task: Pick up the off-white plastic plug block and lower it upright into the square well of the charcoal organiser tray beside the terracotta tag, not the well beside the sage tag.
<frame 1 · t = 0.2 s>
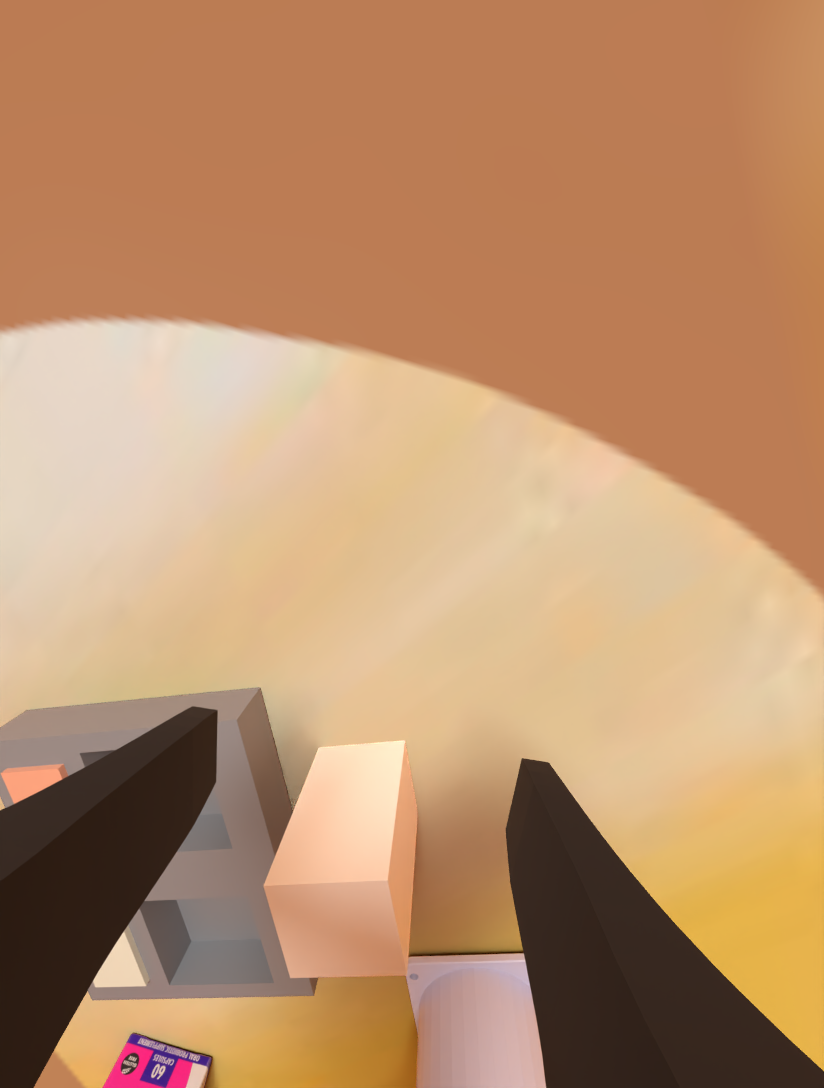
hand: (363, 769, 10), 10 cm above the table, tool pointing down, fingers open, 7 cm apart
organiser tray: (184, 832, 24), on the table
supplement box: (168, 1063, 29), on the table
plug block: (369, 780, 22), on the table
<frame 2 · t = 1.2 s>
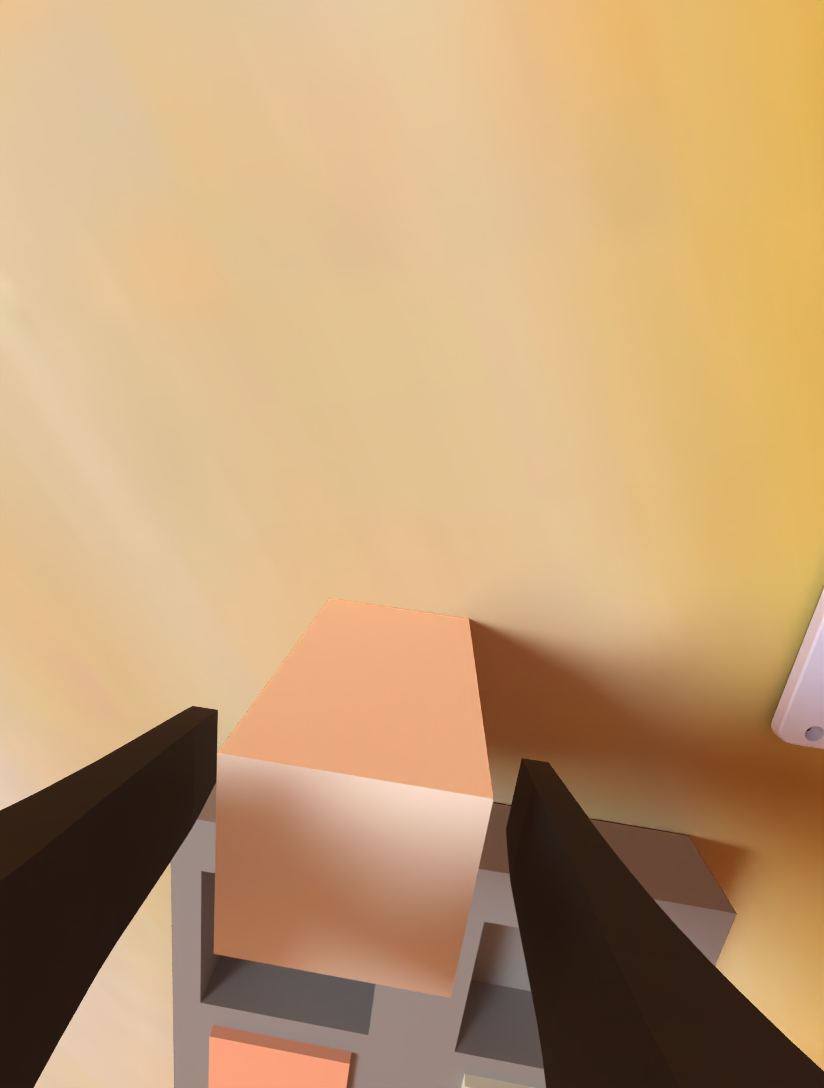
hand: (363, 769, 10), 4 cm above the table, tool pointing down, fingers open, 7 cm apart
organiser tray: (421, 930, 17), on the table
plug block: (390, 670, 14), on the table
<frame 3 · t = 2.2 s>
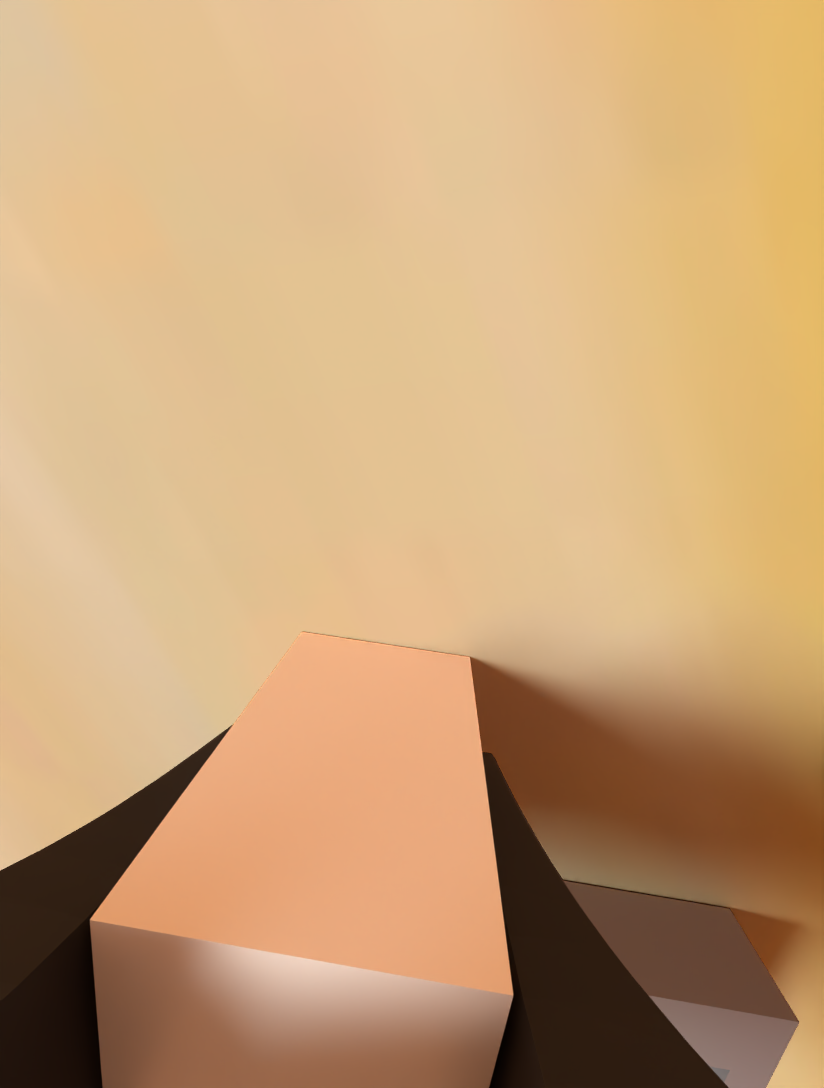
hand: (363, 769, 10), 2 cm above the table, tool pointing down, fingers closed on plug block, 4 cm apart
organiser tray: (414, 1010, 14), on the table
plug block: (375, 717, 12), on the table, touching gripper
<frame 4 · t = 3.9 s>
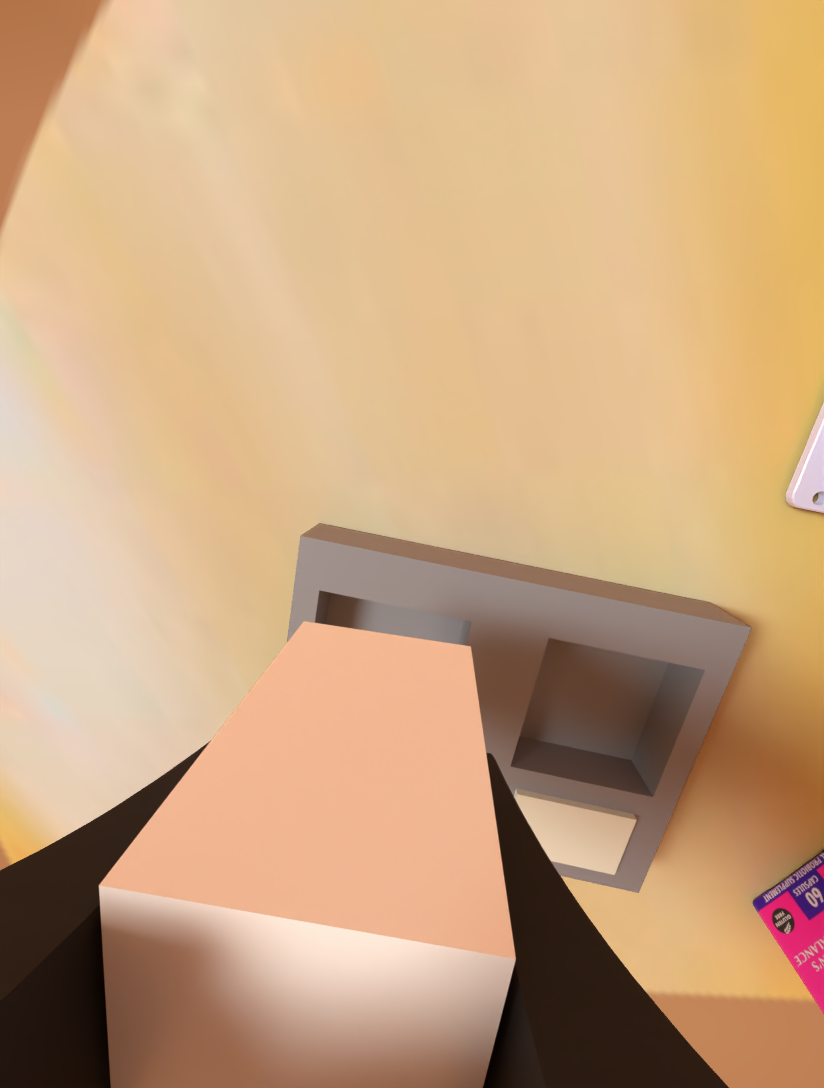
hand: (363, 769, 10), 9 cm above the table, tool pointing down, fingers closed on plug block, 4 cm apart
organiser tray: (478, 693, 20), on the table
plug block: (377, 707, 12), point 7 cm above the table, touching gripper
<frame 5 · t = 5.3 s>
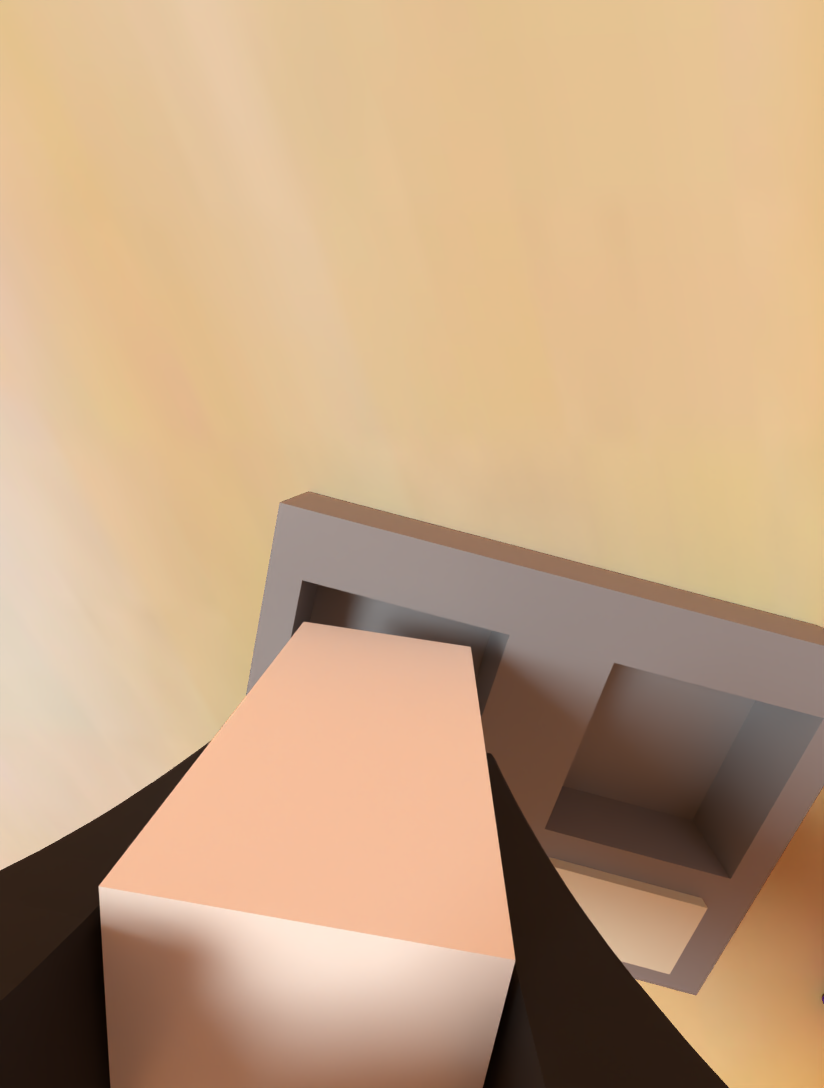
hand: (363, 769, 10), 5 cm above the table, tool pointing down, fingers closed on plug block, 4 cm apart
organiser tray: (501, 724, 15), on the table
plug block: (377, 707, 12), point 3 cm above the table, touching gripper
when the fingers open (4 cm above the table, at t = 6.1 s): plug block drops 1 cm, resting on organiser tray.
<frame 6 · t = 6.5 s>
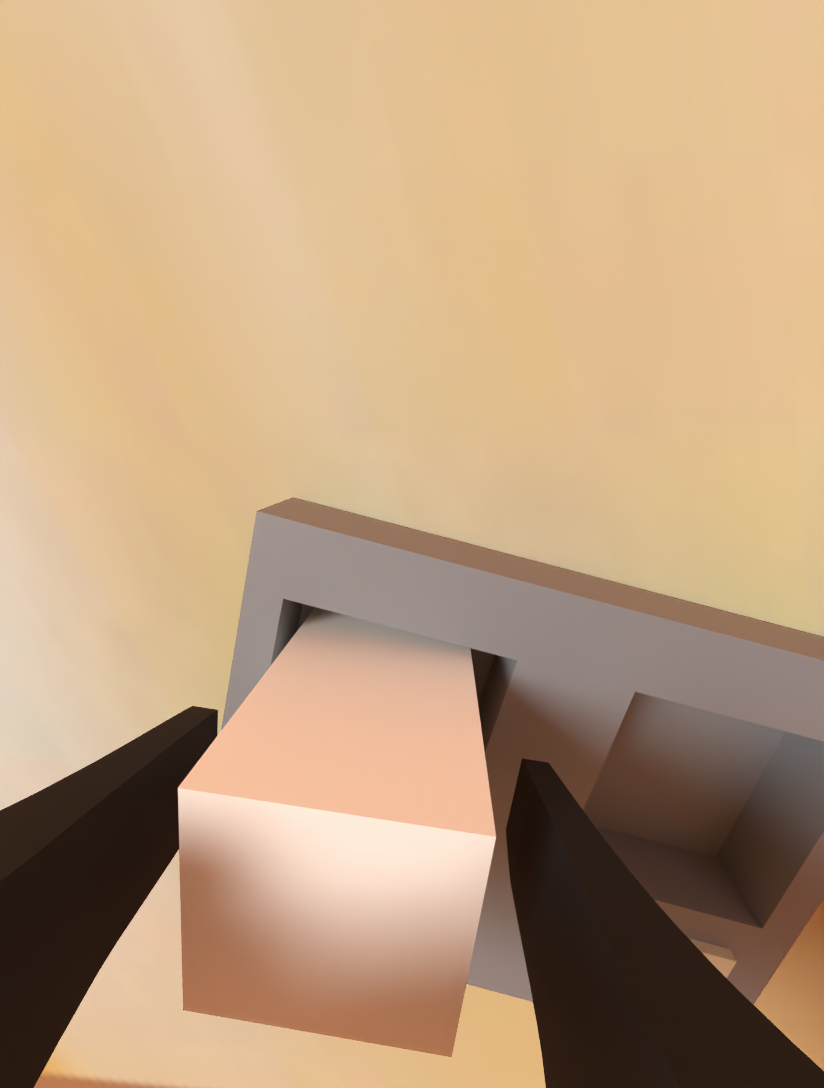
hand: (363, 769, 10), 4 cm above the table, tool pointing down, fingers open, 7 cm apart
organiser tray: (506, 752, 14), on the table
plug block: (384, 680, 13), resting on organiser tray
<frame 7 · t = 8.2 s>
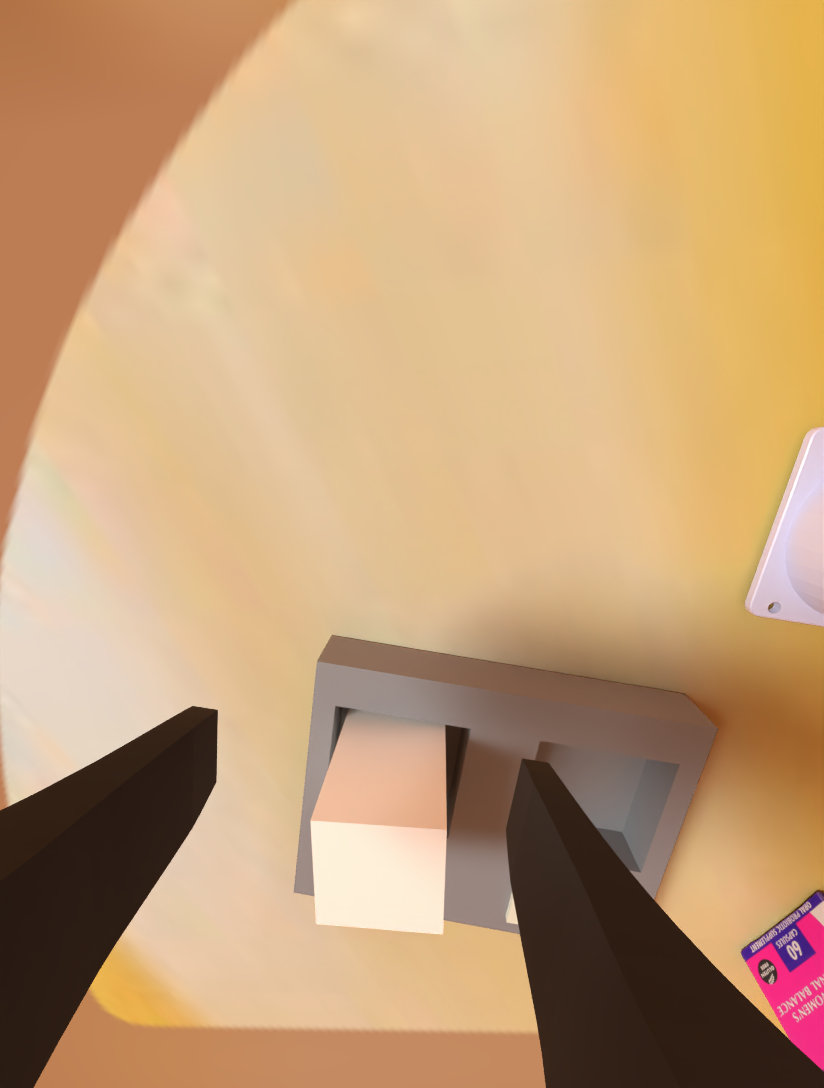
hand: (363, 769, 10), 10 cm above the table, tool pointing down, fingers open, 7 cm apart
organiser tray: (481, 776, 22), on the table
supplement box: (810, 939, 23), on the table
plug block: (398, 738, 21), resting on organiser tray
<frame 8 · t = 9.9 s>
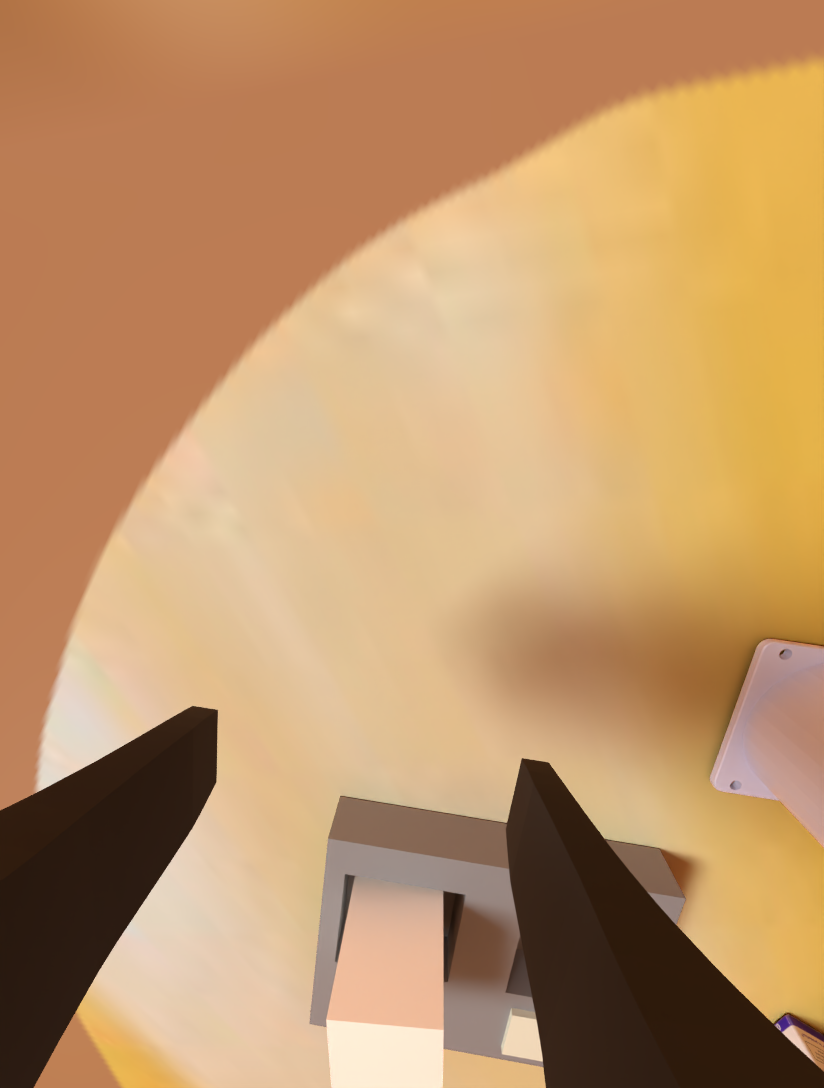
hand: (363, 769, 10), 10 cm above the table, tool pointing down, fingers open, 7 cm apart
organiser tray: (477, 913, 24), on the table
supplement box: (782, 1053, 25), on the table
plug block: (401, 884, 23), resting on organiser tray
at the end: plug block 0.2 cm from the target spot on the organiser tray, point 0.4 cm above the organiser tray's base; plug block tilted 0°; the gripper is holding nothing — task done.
